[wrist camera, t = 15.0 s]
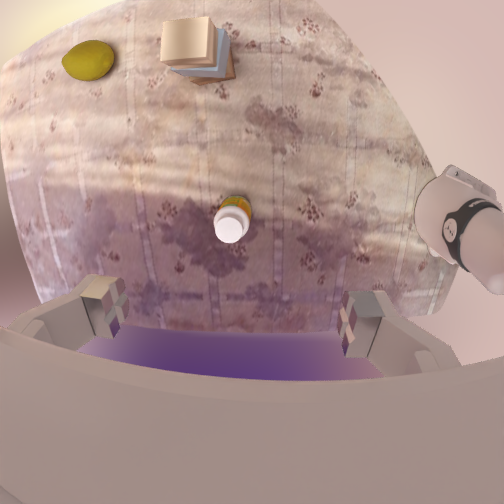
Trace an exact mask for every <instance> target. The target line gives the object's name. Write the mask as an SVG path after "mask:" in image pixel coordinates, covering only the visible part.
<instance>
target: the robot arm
mask: <svg viewBox="0 0 504 504" xmlns="http://www.w3.org/2000/svg"><path fill="white" fill-rule="evenodd" d="M456 172H457V174H456V175H455V173H456ZM414 219H415V226H416V229H417V232H418V234H419V235H420V237H421V238H422V239H423V240H424V241H425V242H426V244H427V247H428V250H429V253H430V254H431V255H432V256H434V257H437V256H441V257H442V258H444V259H445V260H446V261H447V262H449V263H450V264H452V265H454V264H458V265H459V266H460V267H462V268H463V269H464V270H466V271H467V272H470V273H472V274H473V275H474V276H475V277H476V278H477V279H478V280H479V281H480V282H481V283H482V285H483V286H484V287H485V288H486V289H487V290H488V291H489V292H491V293H493V294H497V295H504V213H503V212H502V206H501V204H500V203H499V202H497V201H496V192H495V190H494V189H492V188H491V187H489V186H488V185H486V184H485V183H483V182H481V181H480V180H478V179H476V178H475V177H473V176H471V175H470V174H468V173H466V172H464V171H462V170H461V169H459V168H457V167H455V166H453V165H449V166H448V167H447V168H446V169H445V170H444V171H443V173H442V174H441V175H440V176H439V177H437V178H435V179H433V180H432V181H431V182H429V183H428V184H427V185H426V186H425V188H424V189H423V190H422V192H421V194H420V195H419V197H418V200H417V203H416V207H415V214H414ZM125 288H126V287H125V283H124V280H123V279H122V278H121V277H113V276H105V275H97V274H88V275H87V276H86V277H85V278H84V279H83V280H82V281H81V282H80V283H79V284H78V285H77V286H76V287H75V288H74V289H73V290H72V291H71V292H70V293H69V294H64V295H62V296H60V297H57V298H55V299H53V300H50V301H48V302H46V303H43V304H41V305H39V306H37V307H34V308H32V309H30V310H28V311H25V312H23V313H21V314H20V315H19V316H18V317H17V318H16V319H15V320H14V321H13V322H12V323H11V324H10V325H9V326H8V327H7V328H4V327H1V326H0V504H504V356H503V357H499V358H495V359H491V360H487V361H483V362H478V363H474V364H469V365H465V366H461V364H460V362H459V360H458V358H457V357H456V355H455V353H454V351H453V350H452V348H451V347H450V346H449V345H447V344H446V343H444V342H443V341H441V340H440V339H438V338H436V337H435V336H433V335H432V334H430V333H429V332H427V331H425V330H424V329H422V328H421V327H419V326H417V325H416V324H414V323H413V322H411V321H409V320H408V319H406V318H405V317H403V316H399V315H398V313H397V311H396V310H395V308H394V306H393V304H392V302H391V301H390V299H389V297H388V295H387V294H386V292H385V291H345V292H344V295H343V298H342V303H343V306H344V307H343V308H342V309H341V310H340V311H339V316H338V325H337V327H338V333H339V336H340V337H341V338H342V339H343V341H342V349H343V353H344V356H345V358H362V357H367V359H368V360H369V361H370V362H371V363H372V364H373V365H374V366H375V367H376V368H377V369H378V370H379V371H380V372H381V373H382V374H383V375H384V376H385V377H382V378H371V379H357V380H337V381H274V380H252V379H237V378H224V377H213V376H205V375H196V374H188V373H180V372H173V371H167V370H160V369H154V368H149V367H142V366H137V365H133V364H128V363H122V362H118V361H114V360H109V359H105V358H100V357H96V356H92V355H88V354H84V353H81V352H77V351H76V350H78V349H79V348H80V347H82V346H83V345H85V344H86V343H87V342H89V341H90V340H92V339H93V338H95V336H97V337H103V338H110V339H114V337H115V336H116V334H117V333H118V331H119V330H120V325H119V324H120V323H122V322H123V321H125V320H126V318H127V316H128V313H129V300H128V297H127V296H126V295H125V294H124V290H125Z"/></svg>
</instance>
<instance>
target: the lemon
mask: <svg viewBox="0 0 504 504" xmlns="http://www.w3.org/2000/svg"><path fill="white" fill-rule="evenodd" d="M113 62H114V53H113V51H112V49H111V48H110V46H109V45H107V44H106V43H104V42H101V41H98V40H88V41H85V42H82V43H80V44H78V45H76V46H75V47H73V48H72V49H71V50H70V51H69V52H68V53H67V54H66V55H65V56H64V57H63V58H62V65H63V67H64V68H65V70H66V72H67V73H68V74H69V75H70V76H71V77H73V78H75V79H78V80H82V81H92V80H97V79H99V78H101V77H102V76H104V75H105V74H106V73H107V72H108V71H109V69H110V68H111V66H112V64H113Z"/></svg>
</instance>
